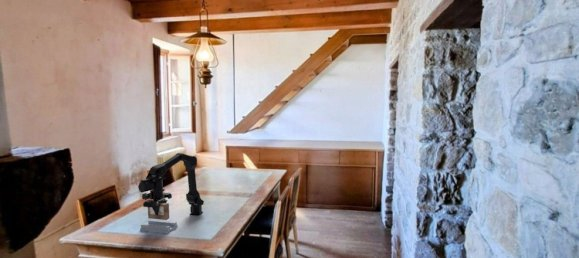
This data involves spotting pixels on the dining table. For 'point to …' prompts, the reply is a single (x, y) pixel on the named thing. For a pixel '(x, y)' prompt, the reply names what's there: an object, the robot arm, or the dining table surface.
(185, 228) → the dining table surface
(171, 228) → the display stand
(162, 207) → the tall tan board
